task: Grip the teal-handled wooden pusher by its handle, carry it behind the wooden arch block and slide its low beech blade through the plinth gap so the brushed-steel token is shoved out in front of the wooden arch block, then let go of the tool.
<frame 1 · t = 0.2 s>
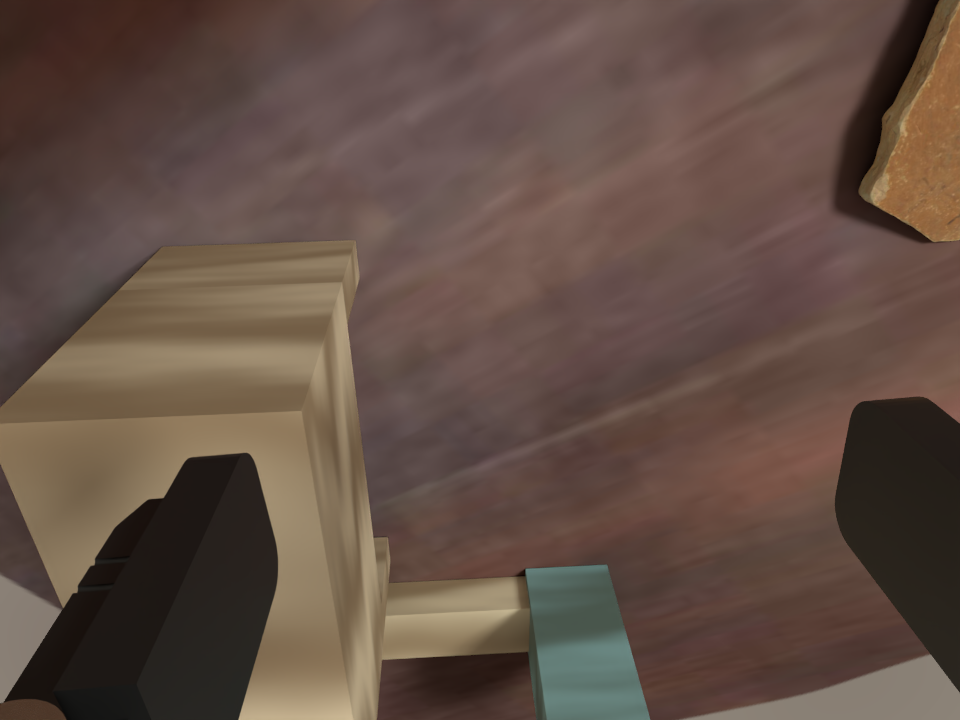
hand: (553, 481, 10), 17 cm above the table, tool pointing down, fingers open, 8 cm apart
wooden arch block: (291, 424, 30), on the table
pottery shard: (956, 77, 25), on the table
blade tool: (564, 595, 35), on the table
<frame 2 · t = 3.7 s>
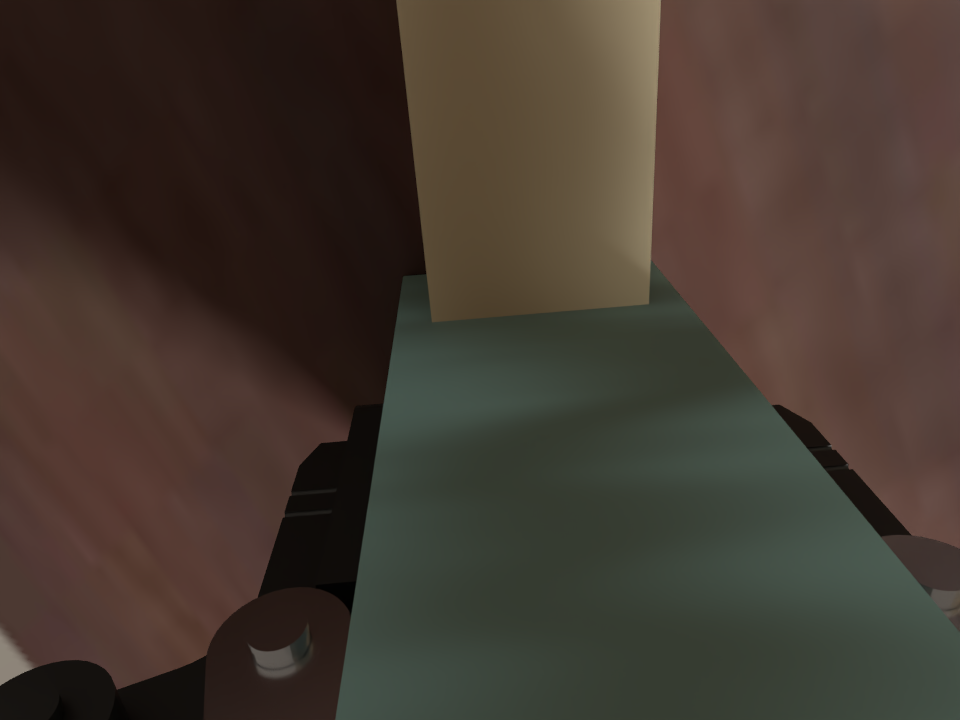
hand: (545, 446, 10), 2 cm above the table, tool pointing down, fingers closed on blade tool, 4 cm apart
blade tool: (530, 374, 12), on the table, touching gripper
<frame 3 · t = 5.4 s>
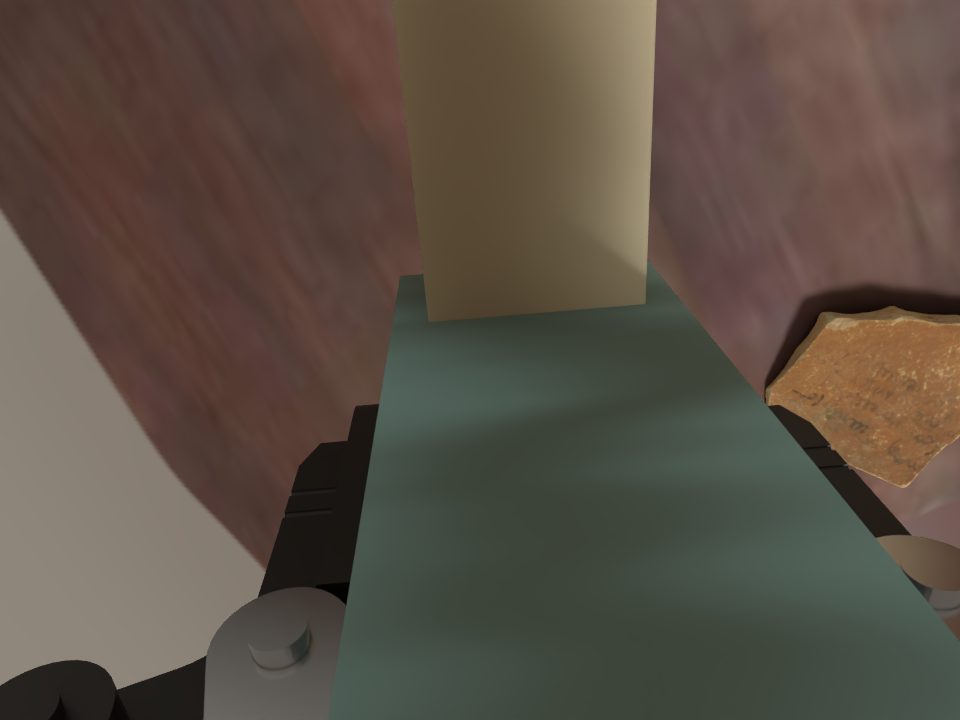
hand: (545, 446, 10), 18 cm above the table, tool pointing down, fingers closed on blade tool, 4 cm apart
pottery shard: (886, 355, 32), on the table
blade tool: (527, 374, 12), point 16 cm above the table, touching gripper
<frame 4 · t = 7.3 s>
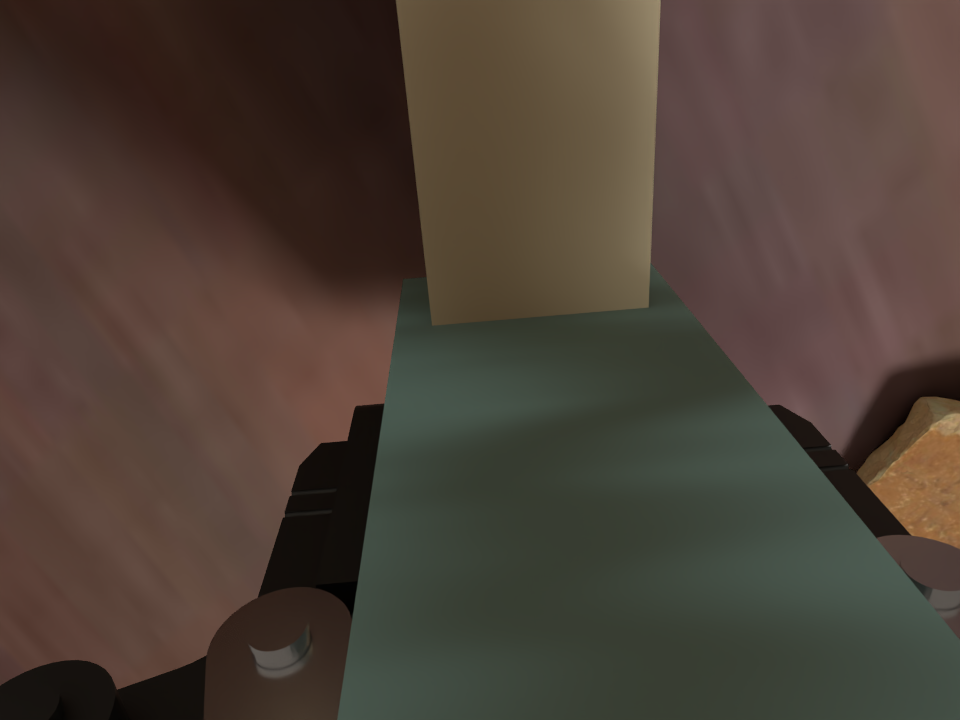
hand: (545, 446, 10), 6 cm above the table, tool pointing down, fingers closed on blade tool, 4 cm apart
blade tool: (530, 376, 12), point 3 cm above the table, touching gripper
when the fingers open (2 cm above the table, at t = 11.3 s): blade tool stays where it is, on the table.
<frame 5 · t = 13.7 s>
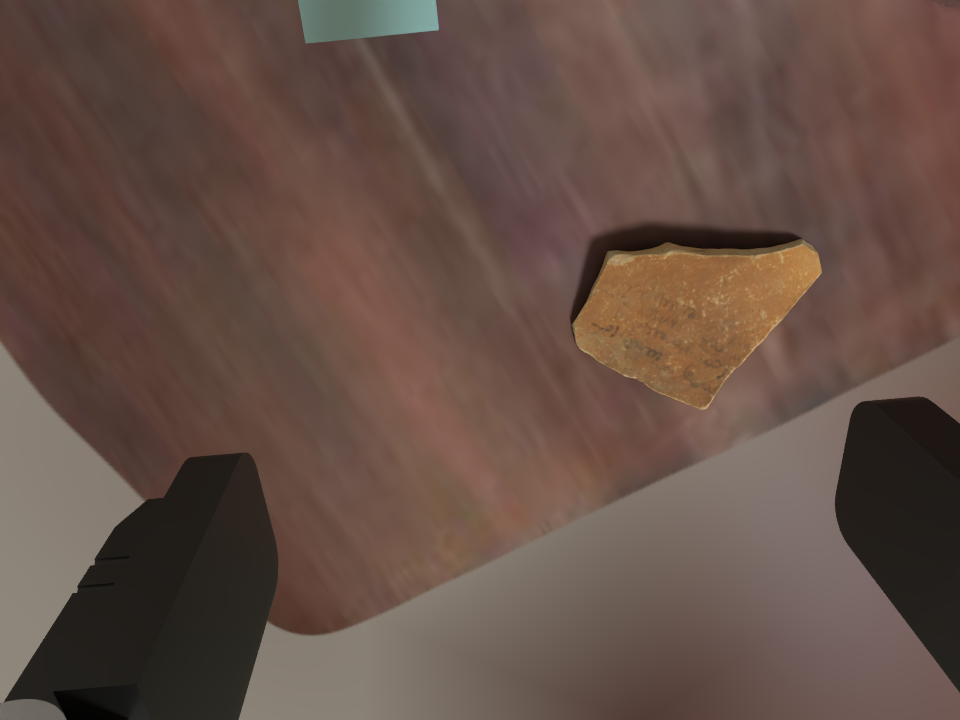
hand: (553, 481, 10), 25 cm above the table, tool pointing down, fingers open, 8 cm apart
pottery shard: (682, 289, 36), on the table
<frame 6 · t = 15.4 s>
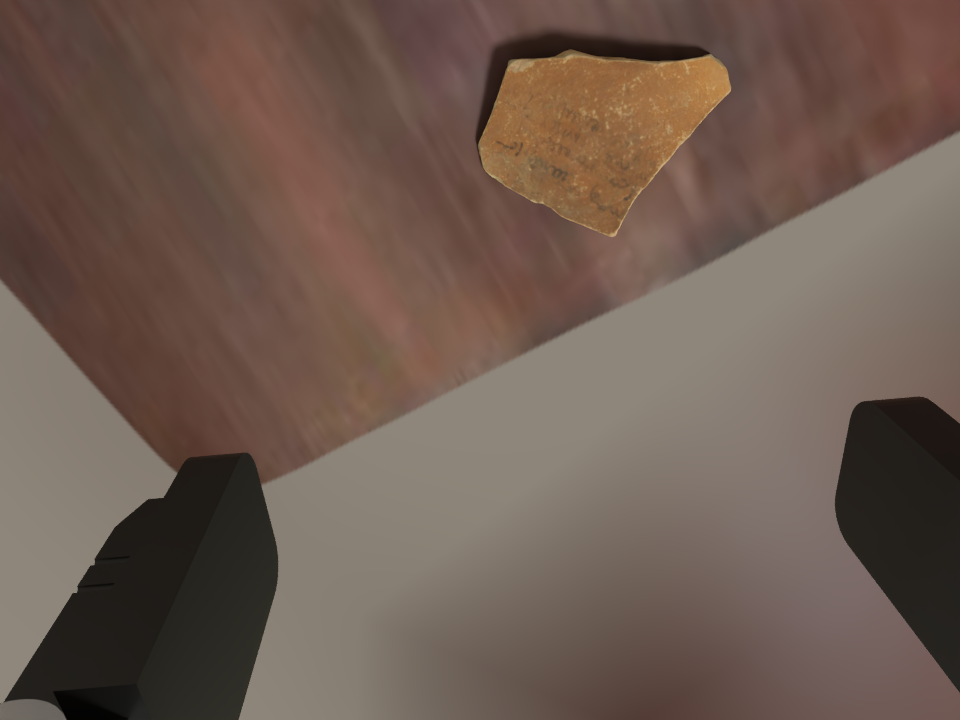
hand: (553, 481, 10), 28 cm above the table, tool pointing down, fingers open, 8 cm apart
pottery shard: (591, 112, 35), on the table
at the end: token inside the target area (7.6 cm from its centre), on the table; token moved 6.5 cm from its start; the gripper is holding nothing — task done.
